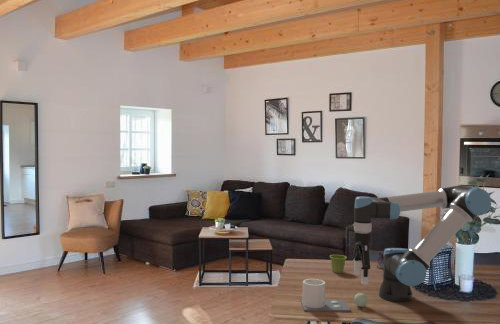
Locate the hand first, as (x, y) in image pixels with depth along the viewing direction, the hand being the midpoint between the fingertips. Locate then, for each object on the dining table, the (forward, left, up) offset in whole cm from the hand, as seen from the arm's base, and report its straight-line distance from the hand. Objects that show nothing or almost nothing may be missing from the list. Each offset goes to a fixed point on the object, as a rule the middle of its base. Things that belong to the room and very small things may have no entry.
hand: (360, 279), depth 206 cm
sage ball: (0, 0, -9) cm, 9 cm away
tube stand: (+16, 0, -12) cm, 20 cm away
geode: (-35, -69, -13) cm, 79 cm away
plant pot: (-1, -56, -12) cm, 57 cm away
